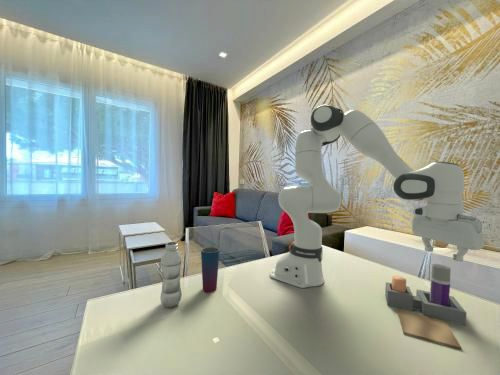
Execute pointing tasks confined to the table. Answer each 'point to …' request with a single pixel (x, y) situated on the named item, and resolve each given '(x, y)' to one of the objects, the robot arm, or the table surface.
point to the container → (440, 284)
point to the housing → (426, 305)
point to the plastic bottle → (171, 275)
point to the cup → (210, 268)
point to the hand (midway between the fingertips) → (442, 255)
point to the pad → (427, 328)
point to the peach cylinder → (399, 284)
